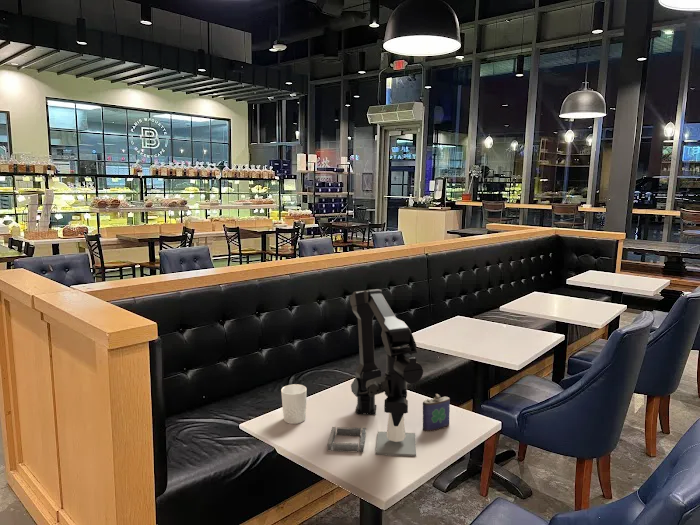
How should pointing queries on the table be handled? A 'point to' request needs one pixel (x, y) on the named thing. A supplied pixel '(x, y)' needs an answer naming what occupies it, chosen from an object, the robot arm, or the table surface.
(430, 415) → the flask
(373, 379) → the robot arm
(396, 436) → the pepper shaker
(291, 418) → the white cup
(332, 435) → the holder
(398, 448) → the mat
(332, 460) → the table surface
